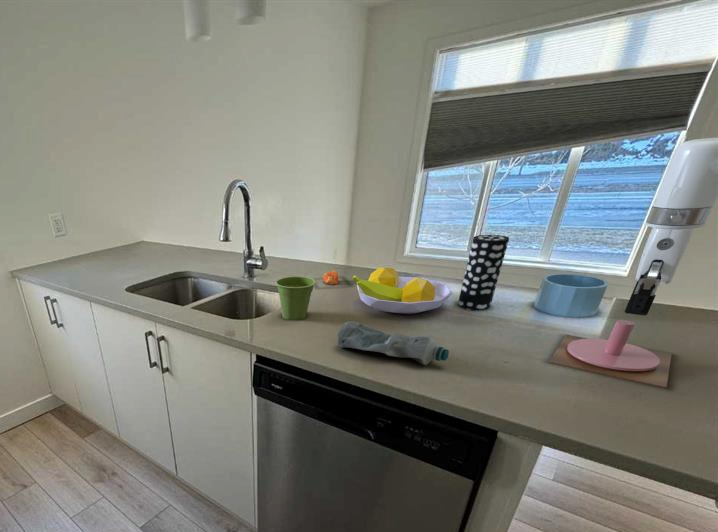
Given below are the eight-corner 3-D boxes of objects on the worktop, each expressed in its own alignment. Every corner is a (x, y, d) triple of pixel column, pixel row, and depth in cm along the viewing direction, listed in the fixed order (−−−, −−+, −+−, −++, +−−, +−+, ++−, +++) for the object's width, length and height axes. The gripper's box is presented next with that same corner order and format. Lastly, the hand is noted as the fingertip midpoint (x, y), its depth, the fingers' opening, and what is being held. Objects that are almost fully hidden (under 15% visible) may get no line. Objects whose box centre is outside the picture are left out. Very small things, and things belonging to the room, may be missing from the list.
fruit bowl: (434, 293, 134) (442, 258, 128) (457, 323, 112) (466, 283, 106) (346, 293, 141) (349, 260, 135) (350, 322, 119) (354, 284, 113)
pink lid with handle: (572, 338, 97) (585, 305, 93) (660, 354, 87) (679, 318, 83) (559, 360, 89) (573, 325, 84) (654, 381, 79) (675, 343, 75)
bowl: (539, 299, 122) (549, 271, 118) (599, 307, 113) (612, 277, 109) (528, 312, 114) (538, 283, 110) (591, 322, 105) (604, 291, 101)
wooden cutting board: (565, 337, 99) (566, 334, 99) (670, 357, 88) (671, 353, 87) (548, 364, 89) (549, 361, 89) (664, 390, 77) (666, 387, 77)
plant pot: (298, 327, 119) (299, 289, 113) (267, 318, 127) (267, 283, 121) (321, 315, 125) (324, 279, 119) (291, 307, 133) (291, 273, 127)
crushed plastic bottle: (328, 352, 103) (431, 380, 86) (330, 325, 99) (438, 349, 83) (353, 339, 111) (453, 362, 94) (357, 313, 107) (460, 333, 91)
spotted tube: (484, 314, 116) (503, 242, 106) (452, 308, 121) (468, 239, 111) (493, 305, 120) (513, 236, 110) (463, 300, 126) (479, 233, 116)
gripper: (707, 226, 66) (661, 323, 74) (708, 209, 76) (667, 297, 84) (643, 224, 71) (606, 316, 79) (652, 209, 81) (618, 292, 89)
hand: (638, 306), depth 82 cm, fingers open, 9 cm apart
